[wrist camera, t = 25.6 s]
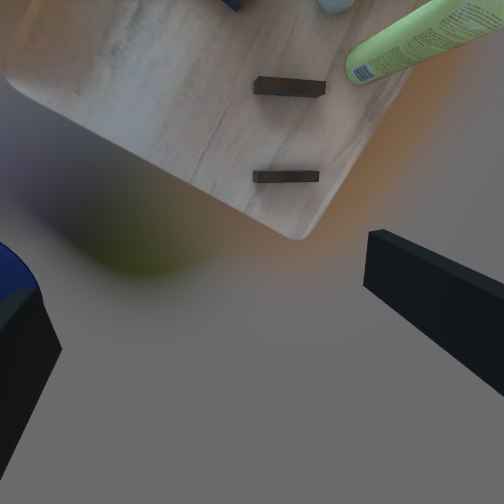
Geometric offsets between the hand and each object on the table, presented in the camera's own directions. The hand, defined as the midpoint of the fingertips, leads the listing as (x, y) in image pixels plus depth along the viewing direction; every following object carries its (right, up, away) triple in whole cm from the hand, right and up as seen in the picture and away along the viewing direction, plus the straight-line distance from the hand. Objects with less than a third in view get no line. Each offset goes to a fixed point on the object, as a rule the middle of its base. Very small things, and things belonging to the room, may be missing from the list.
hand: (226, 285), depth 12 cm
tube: (+16, +27, +29) cm, 43 cm away
